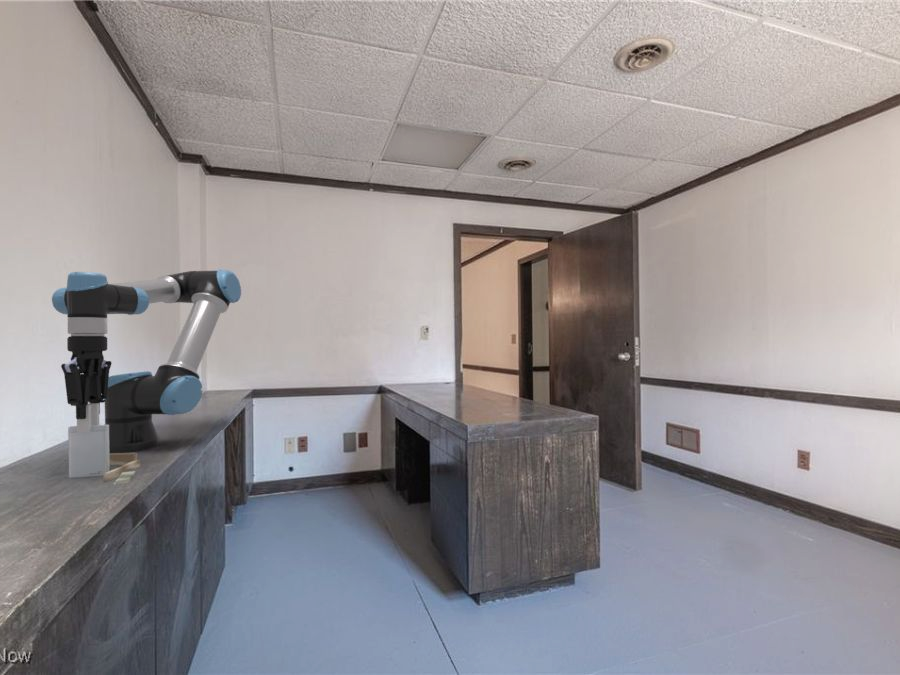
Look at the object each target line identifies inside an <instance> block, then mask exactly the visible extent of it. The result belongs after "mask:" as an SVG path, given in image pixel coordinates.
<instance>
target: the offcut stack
mask: <svg viewBox="0 0 900 675" xmlns="http://www.w3.org/2000/svg"><path fill="white" fill-rule="evenodd" d="M135 474H136V470H131V471H129V472H122V474H121V475H120V476H119V477H117V479H116V480H115V481H114V482H113V484H114V485H120V484H119V483H121V484H129V483H130V482H131V481H132V479H133V478H134V476H135Z"/></svg>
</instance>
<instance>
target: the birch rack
mask: <svg viewBox="0 0 900 675" xmlns="http://www.w3.org/2000/svg"><path fill="white" fill-rule="evenodd" d="M109 458H110V466H114V465H115V466H119V467H115V468H114V469H113V468H112V469H111V470H110V471H109V472H106V473H104V475H103V483H108V482H111V481H112V480H114V479H116V478H118V477H119V476H120V475H121V474H122V472H129V471H134V470H135V469H137V468H139V467H141V462H142V461H141V459H138V452H126V453H109Z"/></svg>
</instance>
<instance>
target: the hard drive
mask: <svg viewBox="0 0 900 675" xmlns="http://www.w3.org/2000/svg"><path fill="white" fill-rule="evenodd" d="M67 430H68V433H67V436H68V479H75V478H87V477H88V478H90V477H100V476H101V477H102V476H103V477H104V473H106V472H109V471H111V470H110V467H111V465H110V458H109V425H105V424H99V425H91V432H78V433H77V425H71V426H68V429H67Z"/></svg>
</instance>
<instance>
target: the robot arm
mask: <svg viewBox="0 0 900 675" xmlns="http://www.w3.org/2000/svg"><path fill="white" fill-rule="evenodd" d="M241 296H242V288H241V283H240V280H239V278H238V277H237V275H236V274H235V273H234V272H233V271H231V270H227V269H226V270H225V269H224V270H223V269H218V270H189V271H184V272H177V273H174V274H173V273H172V274H168V275H161V276H159V277H158V278H155V279H146V280H137V281H127V282H117V283H115V282H114V283H109V281H108V278H107V275H105V274H103V273H98V272H92V271H73V272H70V273H69V274H67V280H66V287H61V288H58V289H57V290H55V291H54V292H53V293H52V297H51V302H52V306H53V308H54V310H55V311H56V312H58V313H60V314H62V315H67V334H68V335H70V336H68V337H67V340H66V342H67V343H66V344H67V346H66V347H67V351H68V352H71V353H72V354H71V357H70V361H69V362H67V363H62V364H61V365H60V367H61V370H62V372H63V374H64V383H65V390H66V399H67V401H66V402H67V404H68V405H69V406H71V407H72V406H73V407H75V419H76V426H77V433H78V432H91V425H100V414H101V406H100V405H101V404H103V403H104V425H109V453H135V452H138V451H143V450H147V449H151V448H155V447H156V446H158V445H159V443H160V442H159V440H160V439H159V435H158V432H157V430H156V428H155V426H154V423H153V415H169V416H175V415H184V414H187V413H190V412H191V411H193V410H194V409H195V408H196V407H197V405H199V402H200V401H201V399H202V396H203V390H202V389H203V383H202V382H201V380H200V377H201V376H200V375H199V373H198V369H199V367H200V364H201V362H202V360H203V357H204V354H205V351H206V350H207V347H208V346H209V342H210V340H211V337H212V335H213V333H214V330H215V329H216V325H217V323H218V321H219V317H220V315H221V314H223V313H226V312H227V311H228V309H229V306H230V304H231V303H232V304H235V303H237V302H239V301H240V299H241ZM155 303H164V304H174V303H175V304H176V303H177V304H178V303H183V304H184V303H186V304H193V305H192V307H191V309H190V312H189V314H188V316H187V319H186V320H185V322H184V324H183V327H182V330H181V331H180V334H179V336H178V337H177V339H176V342H175V343H174V346H173V349H172V351H171V353H170V355H169V358H168V360H167V362H166V363H163V364H160V365H159V366H158V368H157V370H156V372H155V374H153V373H152V371H149V370H148V371H139V372H137V371H136V372H129V373H122V374H114V375H110V369H111V367H112V361H111V360H106V359H104V358H105V356H104V354H103V352H104V351H105V352H106V351H107V350H108V337H107V336H105V335H107V334H108V315H129V316H133V315H140V314H143V313H145V312H146V311H147V309H148V308H149V306H150V304H155Z"/></svg>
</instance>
